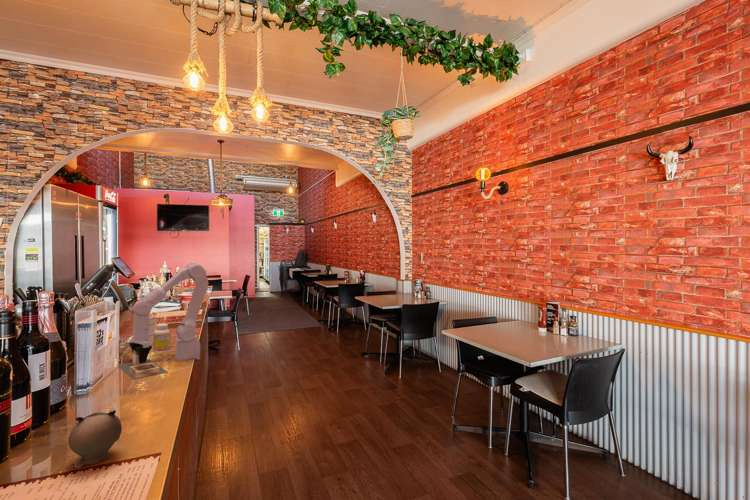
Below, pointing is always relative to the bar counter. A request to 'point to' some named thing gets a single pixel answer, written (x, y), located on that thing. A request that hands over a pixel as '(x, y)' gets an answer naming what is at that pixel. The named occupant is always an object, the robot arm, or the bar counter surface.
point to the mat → (126, 366)
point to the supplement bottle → (161, 338)
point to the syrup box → (151, 329)
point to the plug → (136, 358)
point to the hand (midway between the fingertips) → (139, 360)
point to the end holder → (144, 370)
